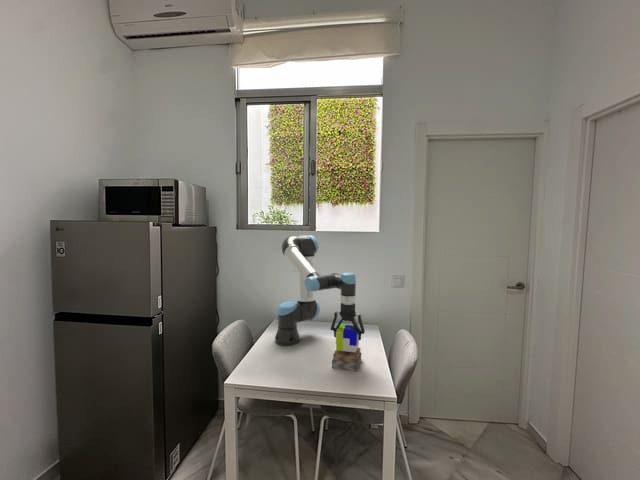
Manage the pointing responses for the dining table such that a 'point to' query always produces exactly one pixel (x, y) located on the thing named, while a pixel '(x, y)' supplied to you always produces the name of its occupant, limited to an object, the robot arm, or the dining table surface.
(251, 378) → the dining table surface
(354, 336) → the puzzle toy
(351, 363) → the plinth
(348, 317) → the robot arm
